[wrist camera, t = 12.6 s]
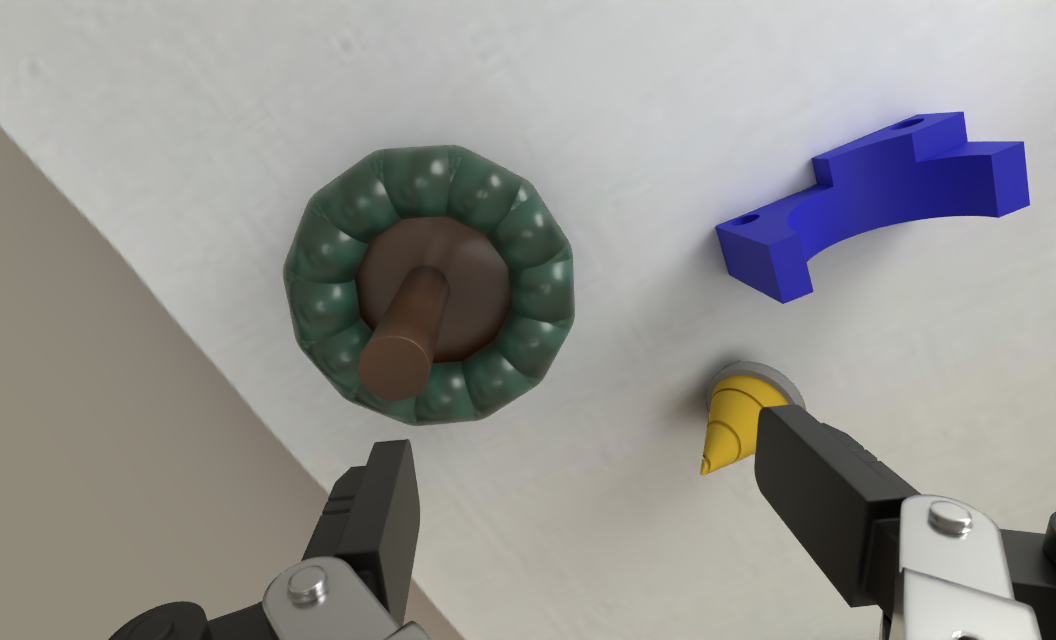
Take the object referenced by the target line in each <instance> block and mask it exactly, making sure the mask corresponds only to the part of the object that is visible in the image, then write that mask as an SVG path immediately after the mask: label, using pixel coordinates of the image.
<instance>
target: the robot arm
mask: <svg viewBox="0 0 1056 640" xmlns="http://www.w3.org/2000/svg"><path fill="white" fill-rule="evenodd" d="M754 468H755V477H756V481H757V484H758V487H759V489H760V491H761V493H762V494H763V496H764V497H765V498H766V500H767V501H768V502H769V504H770V505H771V506H772V507H773V509H774V510H775V511H776V512H777V514H778V515H779V516H780V518H781V519H782V520H783V521H784V523H785V524H786V525H787V527H788V528H789V529H790V530H791V532H792V533H793V534H794V536H795V537H796V538H797V539H798V541H799V542H800V543H801V544H802V546H803V547H804V548H805V550H806V551H807V552H808V553H809V555H810V556H811V557H812V559H813V560H814V561H815V562H816V564H817V565H818V566H819V568H820V569H821V570H822V571H823V573H824V574H825V575H826V576H827V578H828V579H829V580H830V582H831V583H832V584H833V585H834V587H835V588H836V589H837V591H838V592H839V593H840V594H841V596H842V597H843V598H844V600H845V601H846V602H847V603H848V605H849V606H850V607H851V608H852V607H860V606H869V605H878V606H879V607H880V608H881V609H882V617H881V622H880V631H879V640H1056V512H1055V513H1053V514H1052V515H1051V517H1050V520H1049V523H1048V527H1047V530H1046V534H1040V533H1031V532H1022V531H1013V530H1004V529H999V527H998V526H997V524H996V523H995V522H994V521H993V520H992V519H991V518H990V517H988V516H987V515H986V514H985V513H983V512H981V511H980V510H978V509H976V508H974V507H972V506H970V505H968V504H966V503H963V502H961V501H958V500H955V499H951V498H948V497H943V496H937V495H922V494H920V493H919V492H918V491H917V490H915V489H914V488H913V487H912V486H911V485H909V484H908V483H907V482H906V481H904V480H903V479H902V478H901V477H899V476H898V475H897V474H896V473H895V472H893V471H892V470H891V469H890V468H888V467H887V466H886V465H885V464H883V463H882V462H881V461H877V458H876V457H875V456H874V455H872V454H871V453H870V452H869V451H868V450H864V448H863V446H861V445H860V444H859V443H858V442H856V441H855V440H854V439H853V438H852V437H850V436H849V435H848V434H846V433H844V432H842V431H840V430H838V429H836V428H833V427H831V426H829V425H827V424H825V423H820V422H819V421H817V420H816V419H815V418H814V417H813V416H811V415H810V414H809V413H808V412H807V411H806V410H804V409H803V408H802V407H801V406H799V405H797V404H791V405H780V406H769V407H763V408H762V409H761V410H760V412H759V416H758V426H757V439H756V452H755V467H754ZM322 513H323V515H322V516H321V517H320V519H319V521H318V524H317V526H316V528H315V530H314V533H313V535H312V537H311V539H310V542H309V544H308V546H307V549H306V551H305V553H304V556H303V558H302V560H301V562H299V563H297V564H295V565H293V566H291V567H289V568H288V569H286V570H284V571H283V572H282V573H280V574H279V575H278V576H277V577H276V578H275V579H274V580H273V581H272V582H271V583H270V585H269V586H268V588H267V590H266V591H265V594H264V596H263V601H261V602H259V603H257V604H255V605H252V606H250V607H247V608H245V609H242V610H239V611H236V612H233V613H230V614H227V615H224V616H221V617H218V618H215V619H213V620H210V621H207V618H206V615H205V612H204V610H203V609H202V608H201V607H200V606H199V605H197V604H195V603H192V602H183V601H182V602H173V603H168V604H164V605H161V606H158V607H155V608H153V609H150V610H148V611H146V612H144V613H142V614H140V615H139V616H137V617H135V618H134V619H132V620H130V621H129V622H128V623H126V624H125V625H124V626H122V627H121V628H120V629H119V630H118V631H117V632H115V633H114V634H113V635H112V636H111V637H110V638H109V640H433V639H432V638H431V637H430V636H429V635H428V634H427V632H426V631H425V630H424V629H423V628H422V627H421V626H420V625H419V624H418V623H416V622H414V621H410V622H408V623H407V624H405V625H404V626H403V622H404V616H405V610H406V604H407V598H408V592H409V586H410V580H411V574H412V568H413V562H414V556H415V550H416V544H417V538H418V533H419V526H420V503H419V495H418V488H417V481H416V474H415V468H414V461H413V454H412V448H411V444H410V441H409V440H408V439H406V440H395V441H385V442H376V443H374V445H373V448H372V451H371V453H370V456H369V459H368V462H367V464H366V466H358V467H351V468H350V469H349V470H348V471H347V472H346V473H344V474H343V475H342V476H341V477H340V478H339V479H338V480H337V481H336V482H335V484H334V486H333V489H332V491H331V493H330V496H329V498H328V502H327V503H326V505H325V507H324V510H323V512H322Z"/></svg>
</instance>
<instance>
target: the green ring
mask: <svg viewBox="0 0 1056 640" xmlns="http://www.w3.org/2000/svg"><path fill="white" fill-rule="evenodd" d="M440 216H448V217H450V218H452V219H454V220H456V221H458V222H460V223H462V224H464V225H466V226H468V227H470V228H472V229H474V230H477V231H479V232H481V233H483V234H485V235H486V236H487V238H488V239H489V241H490V242H491V243H492V245H493V246H494V248H495V249H496V251H497V252H498V254H499V255H500V256H501V258H502V259H503V261H504V262H505V264H506V265H507V267H508V268H509V278H510V292H511V306H512V307H511V309H510V311H509V313H508V315H507V317H506V319H505V321H504V323H503V325H502V327H501V329H500V331H499V333H498V335H497V337H496V338H495V340H494V341H492V342H491V343H489V344H488V345H486V346H485V347H483V348H482V349H480V350H479V351H477V352H476V353H474V354H472V355H471V356H469V357H468V358H466V359H465V360H463V361H453V362H441V363H432V367H431V372H430V376H429V379H428V382H427V384H426V386H425V387H424V388H423V390H422V391H421V392H420V393H418V394H417V395H415V396H414V397H412V398H409V399H406V400H402V401H388V400H384V399H381V398H379V397H377V396H375V395H374V394H372V393H371V392H370V391H369V390H368V389H367V388H366V387H365V386H364V385H363V383H362V381H361V379H360V376H359V372H358V362H359V358H360V355H361V353H362V351H363V349H364V348H365V346H366V344H367V342H368V341H369V339H370V337H371V336H372V334H373V332H372V330H371V329H370V328H369V327H368V326H367V324H366V323H365V322H364V321H363V319H362V318H361V316H360V309H359V303H358V297H357V291H356V284H355V276H356V274H357V272H358V269H359V267H360V264H361V262H362V260H363V257H364V255H365V253H366V250H367V248H368V246H369V243H370V242H371V241H373V240H374V239H375V238H377V237H378V236H380V235H381V234H383V233H384V232H385V231H387V230H388V229H390V228H391V227H393V226H394V225H396V224H397V223H398V222H400V221H401V220H403V219H411V218H425V217H440ZM283 278H284V284H285V289H286V294H287V299H288V304H289V309H290V314H291V319H292V324H293V329H294V334H295V338H296V341H297V343H298V345H299V347H300V348H301V350H302V351H303V352H304V353H305V354H306V356H307V357H308V358H309V359H310V360H311V361H312V362H313V364H314V365H315V366H316V367H317V368H318V369H319V370H320V372H321V373H322V374H323V375H324V376H325V377H326V379H327V380H328V381H329V382H330V383H331V384H332V385H333V387H334V388H335V389H336V390H337V391H338V392H339V393H340V395H341V396H343V397H344V398H345V399H346V400H348V401H350V402H352V403H354V404H357V405H359V406H362V407H364V408H367V409H369V410H372V411H374V412H377V413H379V414H382V415H384V416H387V417H390V418H392V419H395V420H397V421H400V422H402V423H405V424H408V425H413V426H422V425H434V424H445V423H456V422H467V421H477V420H481V419H484V418H486V417H488V416H490V415H491V414H493V413H495V412H496V411H498V410H499V409H501V408H502V407H504V406H506V405H507V404H509V403H510V402H512V401H513V400H515V399H517V398H518V397H520V396H521V395H523V394H524V393H526V392H528V391H529V390H531V389H532V388H534V387H535V386H537V385H538V384H539V383H540V382H541V381H542V380H543V378H544V377H545V375H546V373H547V371H548V370H549V368H550V366H551V364H552V362H553V360H554V358H555V357H556V355H557V353H558V351H559V349H560V347H561V346H562V344H563V342H564V340H565V338H566V336H567V334H568V333H569V331H570V329H571V327H572V325H573V322H574V317H575V306H574V277H573V254H572V249H571V245H570V243H569V241H568V239H567V238H566V236H565V235H564V233H563V232H562V230H561V228H560V227H559V225H558V224H557V222H556V221H555V219H554V217H553V216H552V214H551V213H550V211H549V210H548V208H547V207H546V205H545V203H544V202H543V200H542V199H541V197H540V196H539V194H538V192H537V191H536V189H535V188H534V187H533V185H532V184H531V183H530V182H528V181H527V180H526V179H524V178H522V177H520V176H519V175H517V174H515V173H513V172H511V171H509V170H507V169H505V168H503V167H501V166H499V165H497V164H495V163H493V162H491V161H489V160H487V159H485V158H483V157H481V156H480V155H478V154H476V153H474V152H472V151H470V150H468V149H466V148H463V147H461V146H456V145H443V146H427V147H411V148H395V149H383V150H378V151H375V152H373V153H371V154H369V155H368V156H366V157H365V158H363V159H362V160H361V161H359V162H358V163H356V164H355V165H354V166H352V167H351V168H350V169H348V170H347V171H345V172H344V173H343V174H341V175H340V176H338V177H337V178H336V179H334V180H333V181H331V182H330V183H329V184H327V185H326V186H324V187H323V188H322V189H320V190H319V191H317V192H316V193H315V194H314V195H313V196H312V197H311V199H310V200H309V201H308V204H307V206H306V208H305V211H304V213H303V216H302V219H301V221H300V224H299V226H298V229H297V232H296V234H295V237H294V239H293V242H292V245H291V247H290V250H289V252H288V255H287V258H286V260H285V263H284V267H283Z"/></svg>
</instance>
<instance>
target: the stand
mask: <svg viewBox="0 0 1056 640" xmlns="http://www.w3.org/2000/svg"><path fill="white" fill-rule="evenodd" d="M355 284H356V291H357V297H358V303H359V309H360V316H361V318H362V319H363V321H364V322H365V323H366V324H367V326H368V327H369V328H370V329H371V330H372V332H373V334H372V336H371V337H370V339H369V341H368V342H367V344H366V346H365V348H364V349H363V351H362V353H361V355H360V358H359V362H358V372H359V376H360V379H361V381H362V383H363V385H364V386H365V387H366V388H367V389H368V390H369V391H370V392H371V393H372V394H374V395H375V396H377V397H379V398H381V399H384V400H388V401H402V400H406V399H409V398H412V397H414V396H415V395H417V394H418V393H420V392H421V391H422V390H423V388H424V387H425V386H426V384H427V382H428V379H429V376H430V372H431V367H432V363H441V362H453V361H463V360H465V359H466V358H468V357H469V356H471V355H472V354H474V353H476V352H477V351H479V350H480V349H482V348H483V347H485V346H486V345H488V344H489V343H491V342H492V341H494V340H495V338H496V337H497V335H498V333H499V331H500V329H501V327H502V325H503V323H504V321H505V319H506V317H507V315H508V313H509V311H510V309H511V307H512V306H511V292H510V278H509V268H508V267H507V265H506V264H505V262H504V261H503V259H502V258H501V256H500V255H499V254H498V252H497V251H496V249H495V248H494V246H493V245H492V243H491V242H490V241H489V239H488V238H487V236H486V235H485V234H483V233H481V232H479V231H477V230H474V229H472V228H470V227H468V226H466V225H464V224H462V223H460V222H458V221H456V220H454V219H452V218H450V217H448V216H440V217H425V218H411V219H403V220H401V221H400V222H398V223H397V224H396V225H394V226H393V227H391V228H390V229H388V230H387V231H385V232H384V233H383V234H381V235H380V236H378V237H377V238H375V239H374V240H373V241H371V242H370V243H369V246H368V248H367V250H366V253H365V255H364V257H363V260H362V262H361V264H360V267H359V269H358V272H357V274H356V276H355Z"/></svg>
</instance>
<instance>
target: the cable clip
mask: <svg viewBox="0 0 1056 640" xmlns="http://www.w3.org/2000/svg"><path fill="white" fill-rule="evenodd" d="M812 161H813V166H814V170H815V175H816V179H817V184H818V185H815V186H813V187H810V188H808V189H806V190H803V191H801V192H798V193H796V194H793V195H791V196H788V197H786V198H784V199H781V200H779V201H776V202H774V203H771V204H769V205H766V206H764V207H762V208H759V209H757V210H754V211H752V212H749V213H747V214H745V215H742V216H740V217H737V218H735V219H732V220H730V221H727V222H725V223H723V224H720V225H718V226H715V227H716V231H717V234H718V238H719V241H720V244H721V248H722V251H723V255H724V258H725V262H726V265H727V269H728V272H729V275H730V276H732V277H734V278H736V279H738V280H740V281H741V282H743V283H745V284H747V285H749V286H751V287H753V288H754V289H756V290H758V291H760V292H762V293H764V294H766V295H767V296H769V297H771V298H773V299H775V300H777V301H779V302H781V303H782V304H784V303H787V302H789V301H792V300H794V299H797V298H799V297H802V296H804V295H807V294H809V293H812V292H813V288H812V284H811V280H810V275H809V271H808V267H807V263H806V262H807V261H808V260H809V259H811V258H812V257H813V256H814V255H816V254H817V253H819V252H820V251H822V250H824V249H825V248H827V247H829V246H831V245H833V244H835V243H837V242H839V241H842V240H844V239H847V238H849V237H852V236H855V235H857V234H860V233H864V232H867V231H870V230H874V229H877V228H881V227H885V226H889V225H893V224H898V223H903V222H908V221H914V220H921V219H928V218H937V217H949V216H988V217H997V218H999V217H1001V216H1004V215H1006V214H1009V213H1011V212H1014V211H1016V210H1019V209H1021V208H1024V207H1026V206H1029V205H1030V201H1029V191H1028V181H1027V170H1026V160H1025V150H1024V142H967V134H966V126H965V119H964V112H950V113H935V114H920V115H916V116H913V117H911V118H908V119H906V120H903V121H901V122H899V123H896V124H894V125H891V126H889V127H886V128H884V129H882V130H879V131H877V132H874V133H872V134H869V135H867V136H865V137H862V138H860V139H857V140H855V141H852V142H850V143H848V144H845V145H843V146H840V147H838V148H836V149H833V150H831V151H828V152H826V153H823V154H821V155H819V156H816V157H814V158H812Z"/></svg>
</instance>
